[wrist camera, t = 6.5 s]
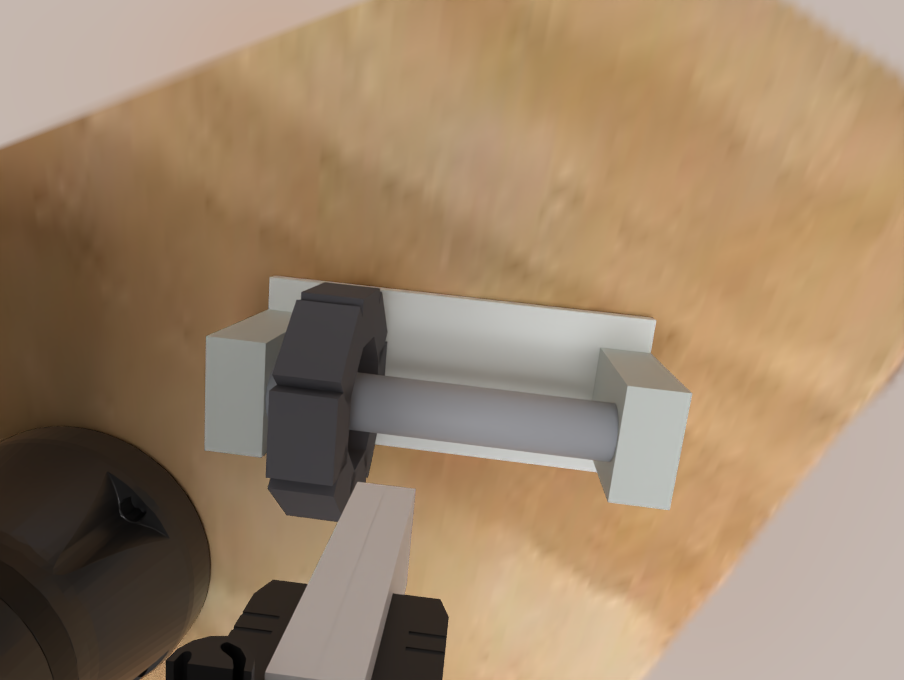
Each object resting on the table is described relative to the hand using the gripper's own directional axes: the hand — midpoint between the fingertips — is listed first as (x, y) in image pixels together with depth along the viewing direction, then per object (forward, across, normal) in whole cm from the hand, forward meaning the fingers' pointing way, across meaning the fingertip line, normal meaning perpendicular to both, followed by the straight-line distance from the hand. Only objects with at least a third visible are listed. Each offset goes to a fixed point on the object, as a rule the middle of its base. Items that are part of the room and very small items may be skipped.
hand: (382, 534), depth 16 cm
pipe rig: (+16, +1, 0) cm, 16 cm away
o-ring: (+15, -4, 0) cm, 15 cm away
